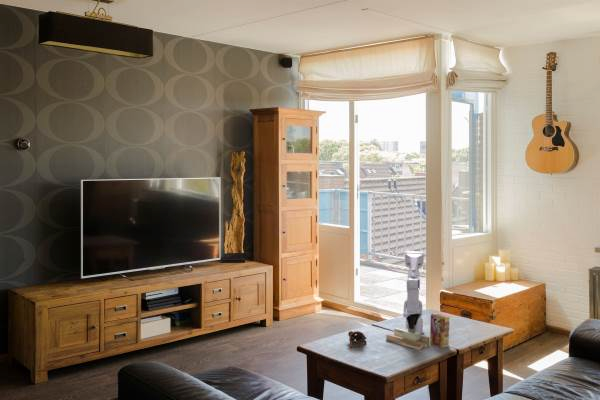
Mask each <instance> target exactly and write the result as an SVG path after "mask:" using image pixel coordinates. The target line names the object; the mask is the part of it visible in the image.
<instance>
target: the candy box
mask: <svg viewBox="0 0 600 400" xmlns="http://www.w3.org/2000/svg"><path fill="white" fill-rule="evenodd" d="M429 326H430V331H429V332H430V333H429V335H430V336H429V345H434V346H437V347H440V348H444V349H445V348H447V347H449V343H450V342H449V341H450V340H449V339H450V316H449V315H444V314H440V313H436V312H434V313H431V314H430V325H429Z"/></svg>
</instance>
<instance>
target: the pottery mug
mask: <svg viewBox="0 0 600 400" xmlns="http://www.w3.org/2000/svg"><path fill="white" fill-rule="evenodd" d="M347 335H348V337H349V338H348V339H349V345H348V346H349V347H350V348H353V347H359V346H362V345H363V344H364V345H367V337H366V336H365V334H364V333H363V332H362V331H360V330H359V331H358V330H357V331H356V330H355V331H352V330H351V331H348V334H347Z"/></svg>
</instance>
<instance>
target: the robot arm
mask: <svg viewBox="0 0 600 400" xmlns="http://www.w3.org/2000/svg"><path fill="white" fill-rule="evenodd" d="M404 254H405V255H404V261H405V263H404V264H405V267H407V268H408V271H407V279H406V295H407V297H406V300H404V302H403V303H404V304H403V313H402V315H403V316H402V317H403V318H405V329H408V325H409V329H414V325H416V329H415V331H416V332H419V333H421V335H423V334H425V331H424V320H423V317H422V316H423V302H422V301H421V300H420V298H419V297H420V288H421V279H420V278H421V277H420V271H419V270H420V269H421V268H423V266H424V262H425V261H424V258H425V257H424V256H425V255H424V254H425V252H424V251H417V250H416V251H414V250H413V251H412V250H405V253H404Z"/></svg>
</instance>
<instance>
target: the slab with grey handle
mask: <svg viewBox="0 0 600 400" xmlns="http://www.w3.org/2000/svg"><path fill="white" fill-rule="evenodd" d="M415 329H416V325H414V329H409V325H408V329H406V328H405V329H402V336H403V337H405V338H408V339H411V340H414V341H417V340H419V339H420V336H421V335H422V334H421V333H419V332H416V331H415Z"/></svg>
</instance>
